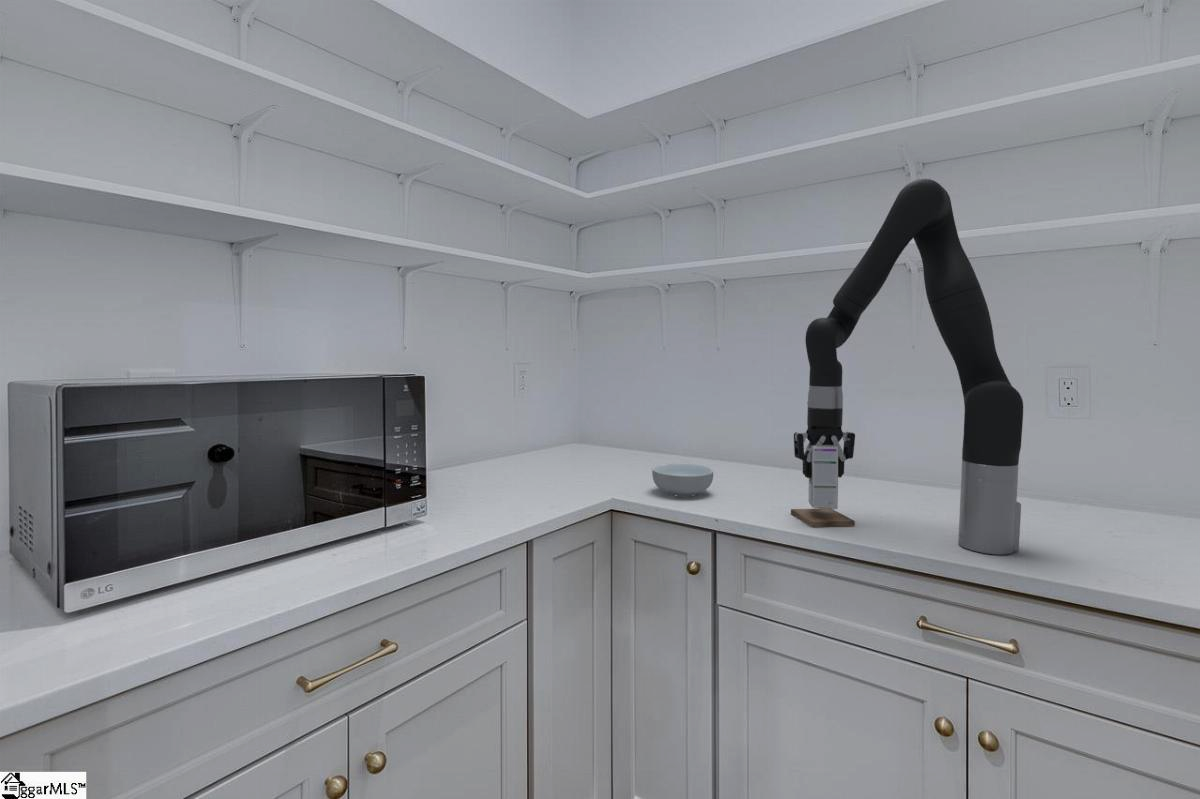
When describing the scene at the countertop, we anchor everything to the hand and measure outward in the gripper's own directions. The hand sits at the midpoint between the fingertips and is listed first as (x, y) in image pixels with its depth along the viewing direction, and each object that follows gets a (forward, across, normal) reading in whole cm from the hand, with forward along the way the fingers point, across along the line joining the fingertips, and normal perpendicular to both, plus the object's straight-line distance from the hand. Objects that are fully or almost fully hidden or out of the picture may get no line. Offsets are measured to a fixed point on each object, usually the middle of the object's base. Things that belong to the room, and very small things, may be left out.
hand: (823, 476), depth 133 cm
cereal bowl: (+10, -26, +29) cm, 40 cm away
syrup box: (+7, 0, 0) cm, 7 cm away
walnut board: (+10, 0, 0) cm, 10 cm away
